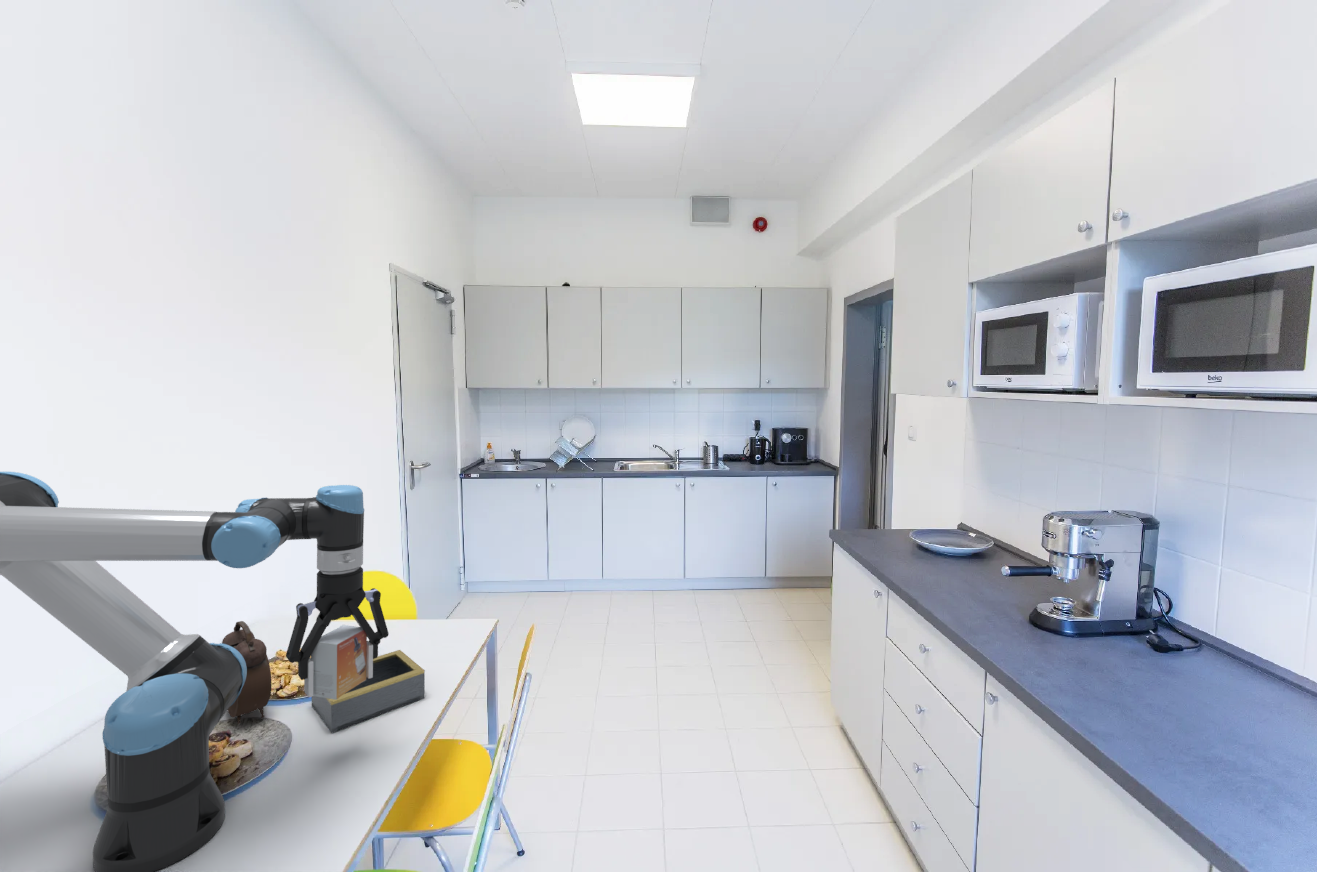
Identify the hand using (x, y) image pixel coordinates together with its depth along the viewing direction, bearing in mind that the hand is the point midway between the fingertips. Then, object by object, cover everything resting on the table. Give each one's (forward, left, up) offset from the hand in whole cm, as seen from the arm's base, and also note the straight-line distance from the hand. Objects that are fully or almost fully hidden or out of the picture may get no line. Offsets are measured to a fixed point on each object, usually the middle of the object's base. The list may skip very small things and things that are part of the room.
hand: (339, 684), depth 104 cm
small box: (0, 0, -1) cm, 1 cm away
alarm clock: (-10, +29, -14) cm, 34 cm away
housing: (+10, +16, -14) cm, 24 cm away
